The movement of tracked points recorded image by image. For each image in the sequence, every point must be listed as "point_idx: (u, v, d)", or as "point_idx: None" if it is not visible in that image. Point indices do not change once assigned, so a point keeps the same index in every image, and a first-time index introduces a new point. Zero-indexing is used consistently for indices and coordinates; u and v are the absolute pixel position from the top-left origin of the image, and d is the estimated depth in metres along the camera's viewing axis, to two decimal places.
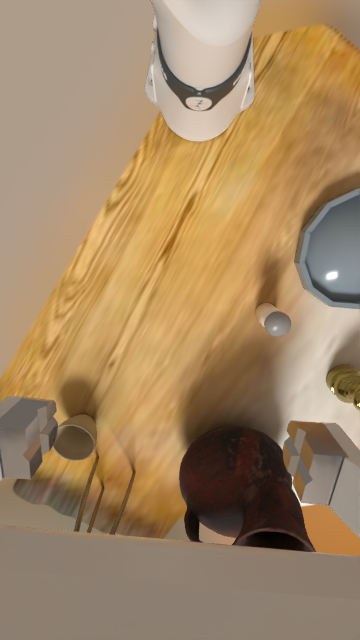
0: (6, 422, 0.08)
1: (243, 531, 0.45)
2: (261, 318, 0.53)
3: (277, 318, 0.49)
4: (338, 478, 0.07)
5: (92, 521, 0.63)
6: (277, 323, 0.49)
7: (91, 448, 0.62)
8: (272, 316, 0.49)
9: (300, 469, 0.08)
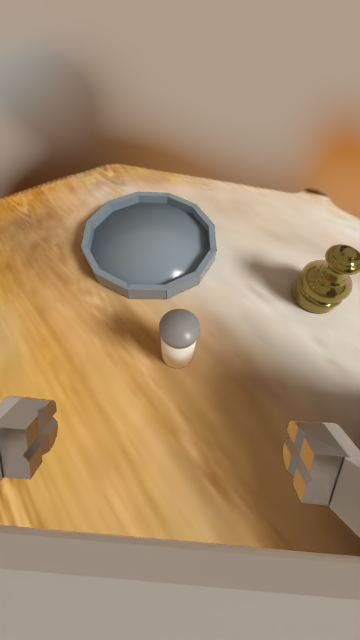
0: (6, 421, 0.08)
1: None
2: (169, 353, 0.32)
3: (169, 324, 0.30)
4: (337, 478, 0.07)
5: None
6: (176, 327, 0.30)
7: None
8: (162, 329, 0.30)
9: (300, 469, 0.08)
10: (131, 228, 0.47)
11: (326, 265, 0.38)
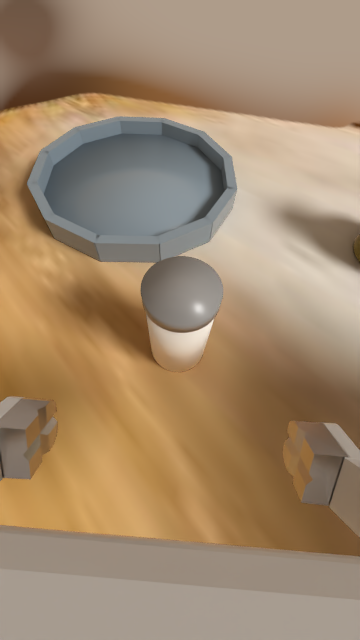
0: (6, 421, 0.08)
1: None
2: (163, 343, 0.17)
3: (160, 283, 0.15)
4: (338, 478, 0.07)
5: None
6: (176, 288, 0.15)
7: None
8: (146, 293, 0.15)
9: (300, 469, 0.08)
10: (108, 164, 0.32)
11: None
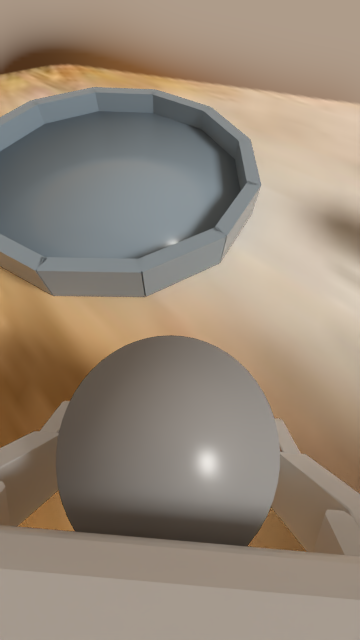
0: None
1: None
2: None
3: (113, 421, 0.06)
4: None
5: None
6: (154, 439, 0.06)
7: None
8: (71, 459, 0.05)
9: None
10: (77, 151, 0.23)
11: None
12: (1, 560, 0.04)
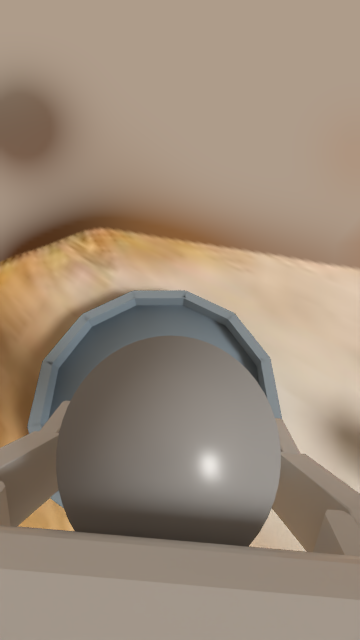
0: None
1: None
2: None
3: (113, 422, 0.06)
4: None
5: None
6: (154, 439, 0.06)
7: None
8: (72, 459, 0.05)
9: None
10: None
11: None
12: (1, 560, 0.04)
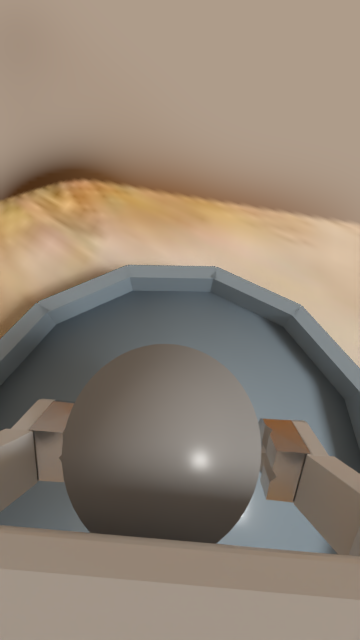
0: (43, 425, 0.08)
1: None
2: None
3: (112, 422, 0.06)
4: (301, 475, 0.07)
5: None
6: (149, 437, 0.06)
7: None
8: (75, 455, 0.06)
9: (266, 466, 0.08)
10: None
11: None
12: (1, 560, 0.04)
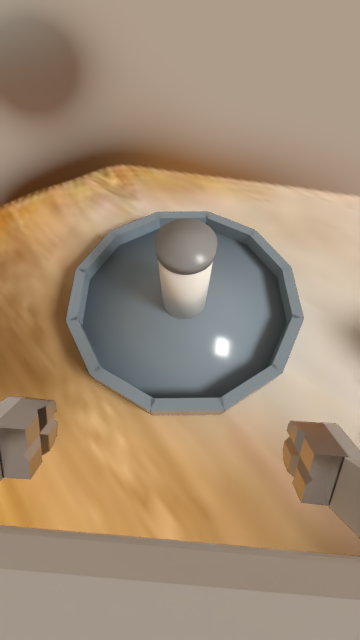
0: (6, 421, 0.08)
1: None
2: (172, 288, 0.22)
3: (169, 238, 0.20)
4: (338, 478, 0.07)
5: None
6: (181, 241, 0.20)
7: None
8: (159, 245, 0.19)
9: (300, 469, 0.08)
10: (150, 275, 0.29)
11: None
12: (1, 560, 0.04)
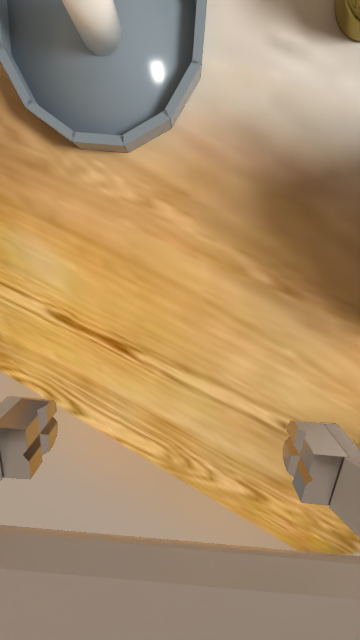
0: (6, 421, 0.08)
1: None
2: (84, 20, 0.24)
3: None
4: (338, 478, 0.07)
5: None
6: None
7: None
8: None
9: (300, 469, 0.08)
10: (58, 17, 0.28)
11: None
12: (1, 560, 0.04)
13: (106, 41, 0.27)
